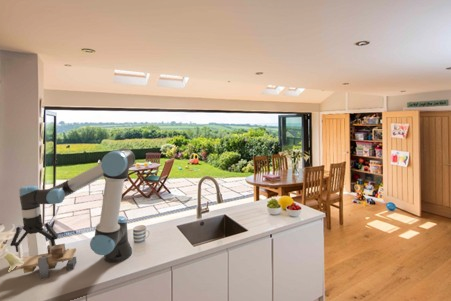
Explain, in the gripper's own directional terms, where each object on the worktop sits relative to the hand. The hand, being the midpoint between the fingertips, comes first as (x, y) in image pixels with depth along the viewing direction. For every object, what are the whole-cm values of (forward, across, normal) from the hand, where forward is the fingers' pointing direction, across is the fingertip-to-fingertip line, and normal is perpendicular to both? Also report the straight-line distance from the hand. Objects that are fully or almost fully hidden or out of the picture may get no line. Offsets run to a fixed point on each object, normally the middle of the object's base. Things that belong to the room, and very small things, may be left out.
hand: (37, 254), depth 130 cm
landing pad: (+10, -15, 0) cm, 18 cm away
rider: (+2, -10, 0) cm, 10 cm away
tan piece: (+8, -5, 0) cm, 9 cm away
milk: (+10, +6, -18) cm, 22 cm away
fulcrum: (+10, -5, 0) cm, 11 cm away
